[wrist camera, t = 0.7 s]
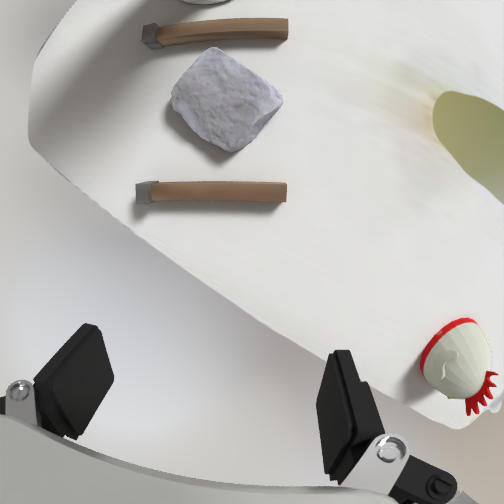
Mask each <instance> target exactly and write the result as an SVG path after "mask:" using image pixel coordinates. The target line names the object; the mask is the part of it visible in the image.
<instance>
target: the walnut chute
mask: <svg viewBox="0 0 504 504" xmlns="http://www.w3.org/2000/svg"><path fill="white" fill-rule="evenodd" d="M253 38H262V39H287V38H288V19H284V18H234V19H218V20H206V21H197V22H189V23H182V24H175V25H169V26H164V27H158V25H157V24H156V23H154V24H149V25H144V26H143V33H142V42H144V43H145V44H146V45H147V46H149V47H150V48H151V49H157V48H163V46H168V45H174V44H182V43H189V42H198V41H209V40H223V39H253ZM286 194H287V184H286V183H276V182H233V181H203V182H160V183H159V181H148V182H143V183H139V184H136V204H149V203H152V202H154V201H165V200H229V201H270V202H286Z"/></svg>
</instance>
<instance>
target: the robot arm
mask: <svg viewBox="0 0 504 504" xmlns="http://www.w3.org/2000/svg"><path fill="white" fill-rule="evenodd" d="M182 1H185V2H187V3H193V4H214V3H219V2H223V1H226V0H182ZM33 380H34V382H35V383H34V385H32V384H31V383H30V382H29V381H26V380H18V381H15V382H13V383H12V384H11V385H10V386H9V387H8V389H7V390H6V396H4V397H0V504H478V503H476V502H475V501H474V500H473V499H472V498H470V497H469V496H468V495H467V494H466V493H465V492H464V491H463V492H461V493H460V492H458V491H457V482H456V479H455V478H454V477H453V476H452V475H451V474H449V473H448V472H446V471H443V470H441V469H439V468H437V467H434V466H432V465H430V464H428V463H426V462H424V461H422V460H420V459H417V458H415V457H413V456H411V455H410V446H409V444H408V442H407V441H406V440H405V439H404V438H403V437H401V436H399V435H396V434H391V433H390V434H389V433H387V434H385V431H384V428H383V425H382V422H381V419H380V416H379V413H378V410H377V407H376V404H375V401H374V398H373V395H372V392H371V390H370V387H369V384H368V383H367V382H366V381H365V382H361V381H360V378H359V376H358V373H357V370H356V367H355V364H354V361H353V358H352V355H351V352H350V350H335V351H334V353H333V354H329V356H328V360H327V364H326V367H325V371H324V375H323V379H322V383H321V386H320V390H319V393H318V397H317V402H316V409H317V416H318V424H319V431H320V439H321V447H322V455H323V463H324V472H325V474H329V476H330V481H332V480H337V481H338V485H340V486H339V487H330V486H323V487H321V486H317V487H308V486H307V487H306V486H304V487H284V486H281V487H280V486H258V485H243V484H233V483H223V482H215V481H209V480H202V479H196V478H189V477H185V476H180V475H174V474H170V473H166V472H161V471H157V470H153V469H149V468H146V467H142V466H138V465H135V464H131V463H128V462H125V461H122V460H119V459H116V458H112V457H110V456H107V455H104V454H101V453H99V452H96V451H93V450H91V449H88V448H85V447H83V446H81V445H78V444H76V443H74V442H71V441H69V440H67V439H64V438H63V437H64V435H66V436H67V437H69V438H72V439H74V440H77V438H78V436H79V435H82V434H83V433H84V431H85V429H86V427H87V426H88V424H89V422H90V420H91V419H92V417H93V415H94V414H95V412H96V410H97V409H98V407H99V405H100V403H101V402H102V400H103V398H104V397H105V395H106V394H107V392H108V390H109V389H110V387H111V385H112V384H113V382H114V374H113V371H112V368H111V364H110V361H109V358H108V355H107V351H106V348H105V344H104V340H103V336H102V333H101V331H100V330H99V329H98V327H97V326H96V325H91V324H87V323H85V324H83V325H82V326H81V327H80V328H79V329H78V330H77V331H76V332H75V333H74V334H73V335H72V336H71V338H70V339H69V340H68V341H67V342H66V343H65V344H64V345H63V346H62V347H61V348H60V349H59V351H58V352H57V353H56V354H55V355H54V356H53V357H52V358H51V359H50V360H49V362H48V363H47V364H46V365H45V366H44V367H43V368H42V369H41V371H40V372H39V373H38V374H37V375H36V376H35V378H34V379H33Z"/></svg>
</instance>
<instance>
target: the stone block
mask: <svg viewBox="0 0 504 504" xmlns="http://www.w3.org/2000/svg"><path fill="white" fill-rule="evenodd" d="M171 94H172V99H171V104H172V108H173V109H174V110H175V111H176V112H177V113H179V114H180V115H181V116H182V117H183V119H184V121H185V122H186V123H187V124H188V126H189V127H190V128H191V129H192V130H193V131H194V132H195V133H196V134H197V135H198V136H199V137H200V138H202V139H203V140H206V141H208V142H211V143H212V144H213V145H217V146H219V147H221V148H222V149H224V150H225V151H228V152H234V151H238V150H241V149H242V148H244V147H245V146H246V145H247V144H248V143H250V142H252V141H253V140H254V139H255V138H256V137H257V135H258V133H259V132H260V130H261V129H262V127H263V124H264V123H265V122H266V121H267V120H269V119H270V118H271V117H272V116H273V115H274V114H275V113H276V112H277V111H278V110H279V108H280V107H281V105H282V103H283V99H282V95H281V94H280V93H279V92H278V91H277V90H276V89H275V88H274V87H273V86H271V85H270V84H269V83H268V82H267V81H265V80H264V79H262V78H261V77H260V76H258V75H257V74H256V73H254V72H253V71H251V70H249V69H248V68H246V67H244V66H243V65H241V64H240V63H238V62H237V61H235V60H234V59H233V58H231V57H230V56H229V55H227V54H226V53H225V52H224V51H222V50H221V49H219V48H217V47H211V48H209V49H207V50H205V51H204V52H203V53H202V54H201V55H200V56H199V57H198V59H197V60H196V61H195V62H194V64H193V65H192V66H191V67H190V68H189V69H188V70H187V71H186V72H185V73H184V74H183V75H182V77H181V78H180V79H179V81H178V82H177V83H176V84H175V86H174V88H173V89H172V92H171Z"/></svg>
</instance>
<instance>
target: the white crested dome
mask: <svg viewBox="0 0 504 504" xmlns="http://www.w3.org/2000/svg"><path fill="white" fill-rule="evenodd" d="M420 369H421V371H422V373H423V375H424V377H425V378H426V380H427V381H428V382H429V384H431V385H432V386H433V387H434V388H436V389H437V390H438V391H440V392H441V393H443V394H444V395H446V396H447V397H448V399H452V398H455V399H465V403H466V413H467V416H470V415H471V408H472V409H473V411H474V412H475V414H479V408H478V402H479V403H481V404H482V405H483V406H487V403H486V401H485V399H484V396H483V395H485V396H486V397H488V398H489V399H493V396H492V394H491V392H490V390H489V387H496V385H495V384H494V383H492V382H491V381H490V376H492V375H499V374H497V373H495V372H492V354H491V348H490V345H489V342H488V340H487V337H486V335H485V333H484V331H483V330H482V329H481V327H480V326H479V325H478V324H477V323H476V322H475V321H474V320H472V319H470V318H460V319H458V320H455V321H452V322H451V323H449V324H448V325H446V326H445V327H443V328H442V329H441V330H440V331H439V332H438V333H437V334H436V335H434V337H433V338H432V339H431V341H430V342H429V343H428V345H427V346H426V348H425V350H424V352H423V354H422V358H421V361H420Z"/></svg>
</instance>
